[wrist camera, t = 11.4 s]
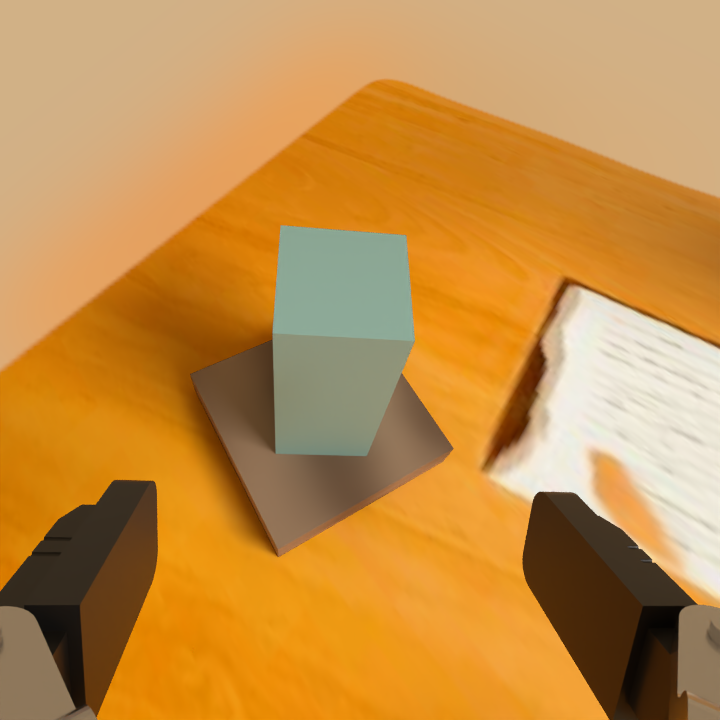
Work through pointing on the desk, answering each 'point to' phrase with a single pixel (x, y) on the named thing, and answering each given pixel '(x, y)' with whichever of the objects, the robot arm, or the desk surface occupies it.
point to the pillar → (338, 337)
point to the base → (310, 472)
